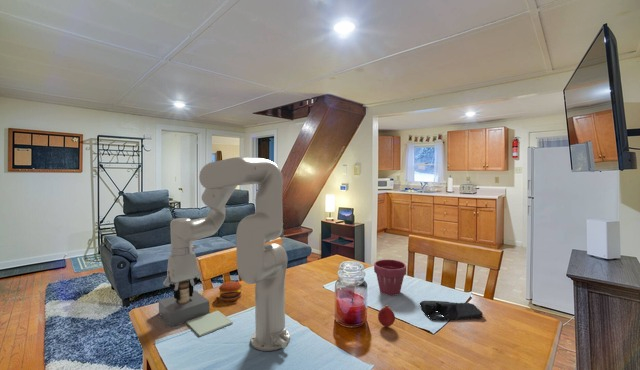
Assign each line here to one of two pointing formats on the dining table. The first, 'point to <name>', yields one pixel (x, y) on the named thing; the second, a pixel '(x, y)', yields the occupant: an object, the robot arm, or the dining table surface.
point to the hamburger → (230, 291)
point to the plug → (184, 292)
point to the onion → (386, 316)
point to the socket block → (183, 309)
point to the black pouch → (450, 310)
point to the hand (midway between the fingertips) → (183, 296)
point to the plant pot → (390, 275)
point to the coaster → (209, 323)
